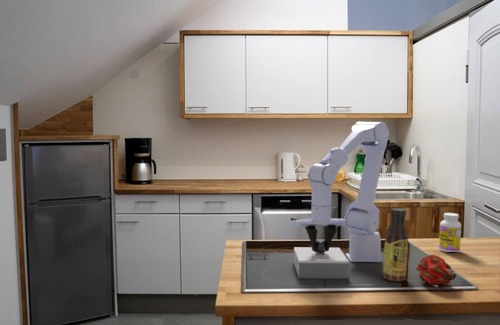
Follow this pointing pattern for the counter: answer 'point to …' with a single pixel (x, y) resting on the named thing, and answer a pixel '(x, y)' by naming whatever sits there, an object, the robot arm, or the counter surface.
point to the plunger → (320, 246)
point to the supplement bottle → (450, 233)
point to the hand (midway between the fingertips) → (320, 250)
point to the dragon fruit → (435, 270)
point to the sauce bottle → (396, 247)
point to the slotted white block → (321, 263)
